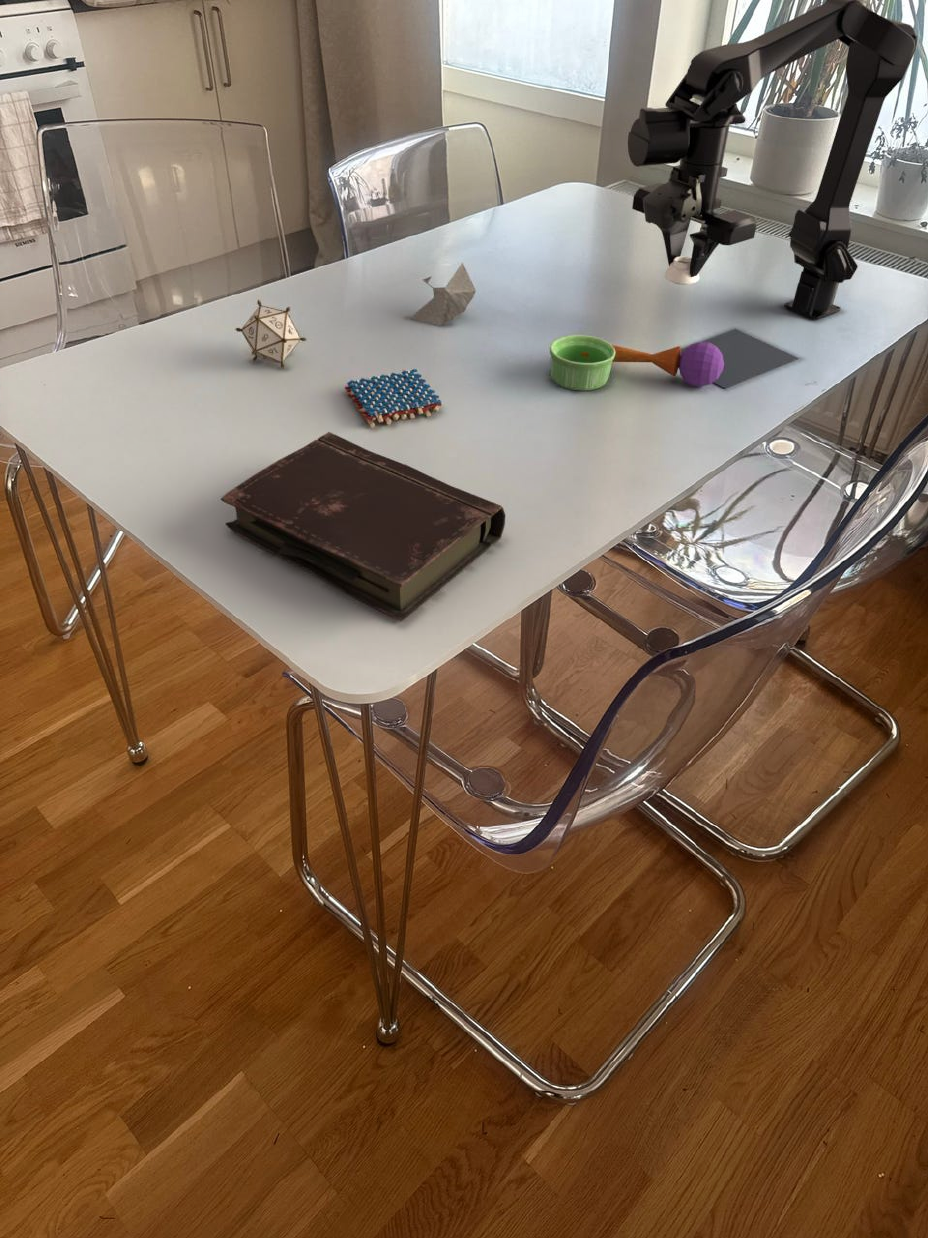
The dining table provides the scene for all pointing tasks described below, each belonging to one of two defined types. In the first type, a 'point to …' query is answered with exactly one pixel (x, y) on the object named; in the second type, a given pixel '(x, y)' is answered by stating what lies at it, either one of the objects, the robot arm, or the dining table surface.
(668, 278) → the white jar
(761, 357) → the slate mat
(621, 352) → the kendama
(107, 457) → the dining table surface
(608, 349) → the ramekin
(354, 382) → the woven mat
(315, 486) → the diary
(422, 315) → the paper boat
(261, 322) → the game die
